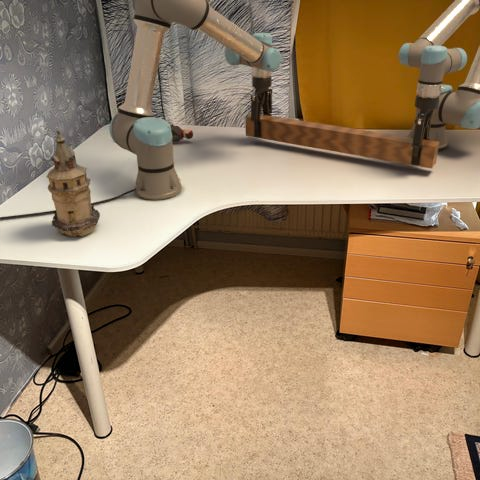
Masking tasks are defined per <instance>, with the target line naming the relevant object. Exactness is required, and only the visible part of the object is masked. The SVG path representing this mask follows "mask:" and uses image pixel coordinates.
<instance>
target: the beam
mask: <svg viewBox="0 0 480 480" xmlns="http://www.w3.org/2000/svg"><path fill="white" fill-rule="evenodd" d="M260 121H261V137H260V138H259V137H254V121H251V113H250V114H248V115H246V116H245V136H246V137H251V138H256V139H262V140H267V141H274V142H278V143H284V144H291V145H294V146H295V145H296V146H301V147H307V148H313V149H318V150H324V151H329V152H336V153H341V154H346V155H351V156H358V157H363V158H370V159H374V160H381V161H387V162H392V163H398V164H402V165H408V166H413V167H414V166H415V167H420V168H426V169H432V170H433V168H434V166H435V165H436V164H437V159H438V153H439V150H438V148H439V142H438V141H431V140H425V139H423V141H422V145H421V147H422V151H421V157H420V163H419V166H418V165H412V164H411V160H412V153H413V147H411V145H412V144H413V138H412V137H408V136H404V135H398V134H392V133H385V132H380V131H379V132H378V131H372V130H365V129H360V128H359V129H358V128H352V127H346V126H341V125H333V124H327V123H321V122H313V121H307V120H300V119H295V118H288V117H280V116H275V115H274V116H273V115H272V116H268V115H263V113H261V116H260Z"/></svg>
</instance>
